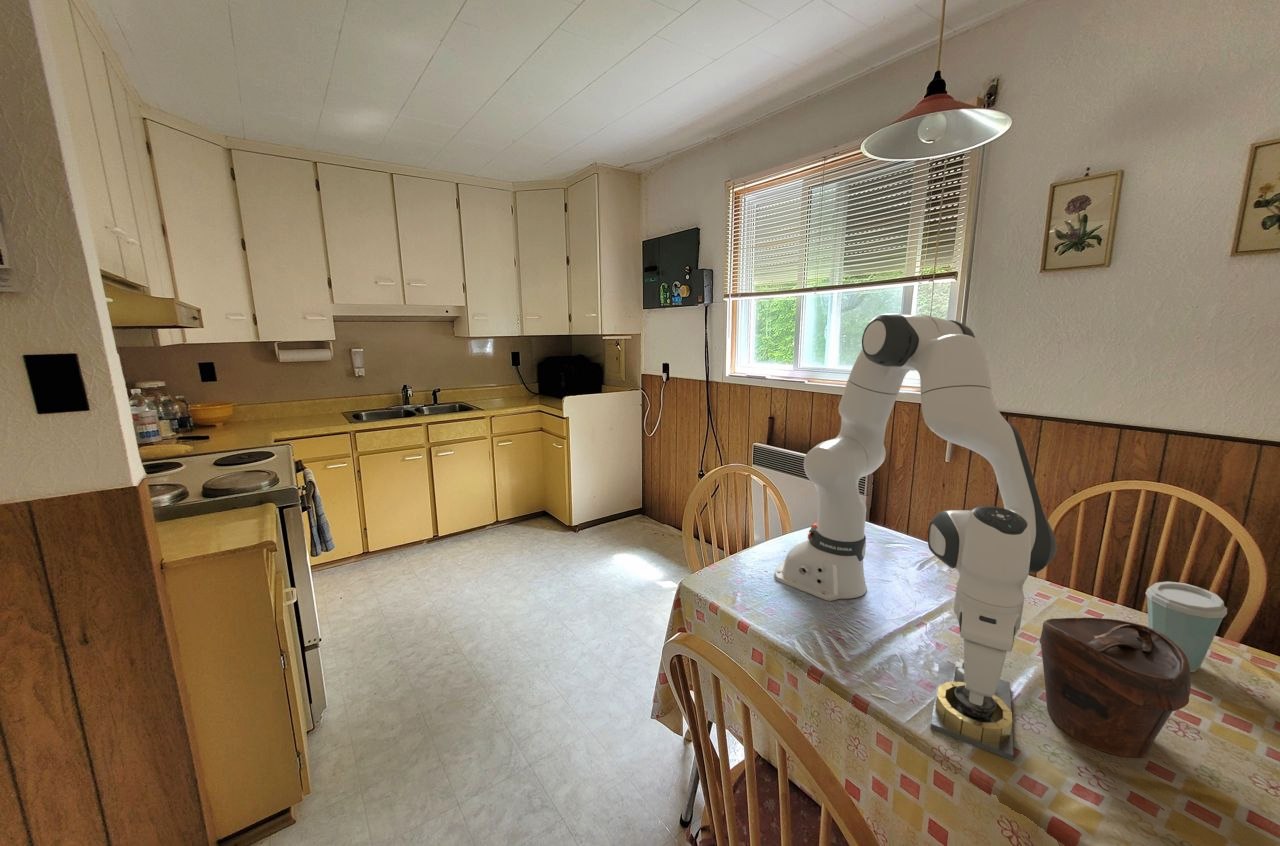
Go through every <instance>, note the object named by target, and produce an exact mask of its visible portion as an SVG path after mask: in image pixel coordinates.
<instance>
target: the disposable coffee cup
mask: <svg viewBox="0 0 1280 846" xmlns="http://www.w3.org/2000/svg"><path fill="white" fill-rule="evenodd" d="M1145 595H1146V600H1147V619H1148V621H1147V622H1148V623H1147V624H1148V626H1147V627H1149V628H1151V629H1153V630H1155V631H1158V632H1160V633H1162V634H1163V635H1165V636H1166V637H1168V638H1169V639H1170V640H1172V641H1173V642H1174V643H1175V644H1176V645H1178V646H1179V647H1180V648H1181V650H1182V651H1183V652H1184V654H1185V655H1186V657H1187V659H1188V662H1189V666H1190V673H1195V672H1196V671H1197V670H1199V669H1200V668H1201V666H1202V665H1203V662H1204V660H1205V659H1206V658H1205V657H1206V655H1207V653H1208V651H1209V649H1210V648H1211V645H1212V642H1213V640H1214V639H1215V636H1216V634H1217V632H1218V629H1219V627H1220V626H1221V623H1222V621H1223V619H1224V618H1225V617H1226V616H1227V614H1228V607H1226V605H1225V602H1224V600H1223V599H1222V598H1221V597H1220V596H1219V595H1218V594H1216V593H1214V592H1212V591H1209V590H1207V589H1205V588H1202V587H1199V586H1195V585H1192V584H1188V583H1185V582H1184V583H1183V582H1178V581H1177V582H1176V581H1159V582H1155V583H1153V584H1152V585H1150V586H1149V587H1148V588H1146V592H1145Z"/></svg>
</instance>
